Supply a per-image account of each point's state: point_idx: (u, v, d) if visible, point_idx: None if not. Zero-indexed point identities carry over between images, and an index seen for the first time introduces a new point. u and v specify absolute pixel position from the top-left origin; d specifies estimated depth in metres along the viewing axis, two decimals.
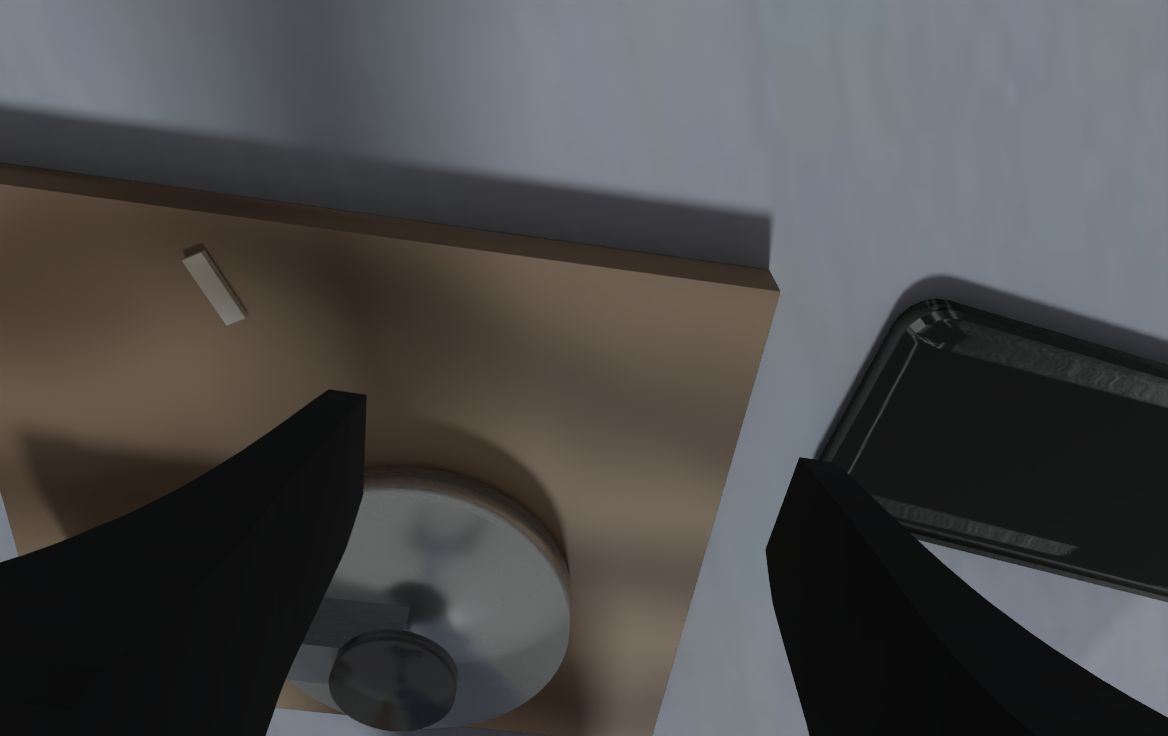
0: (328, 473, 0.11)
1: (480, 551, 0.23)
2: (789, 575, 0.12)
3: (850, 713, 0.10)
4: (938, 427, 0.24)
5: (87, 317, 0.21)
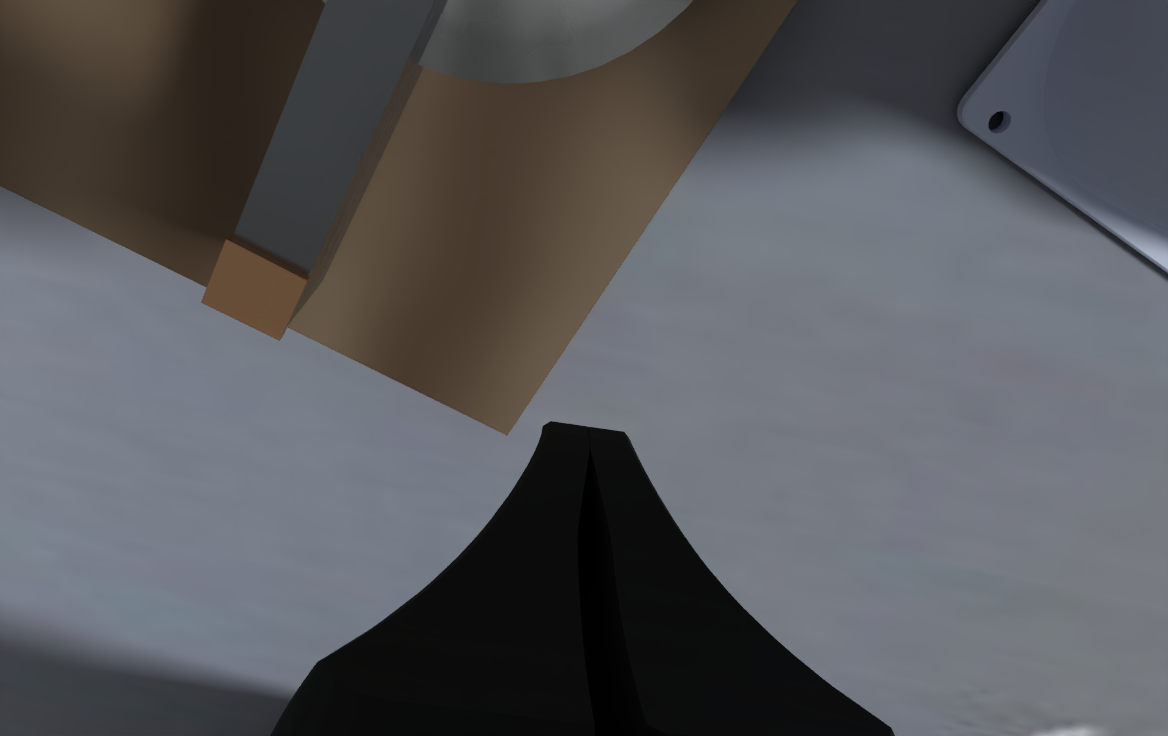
0: None
1: None
2: None
3: None
4: None
5: None
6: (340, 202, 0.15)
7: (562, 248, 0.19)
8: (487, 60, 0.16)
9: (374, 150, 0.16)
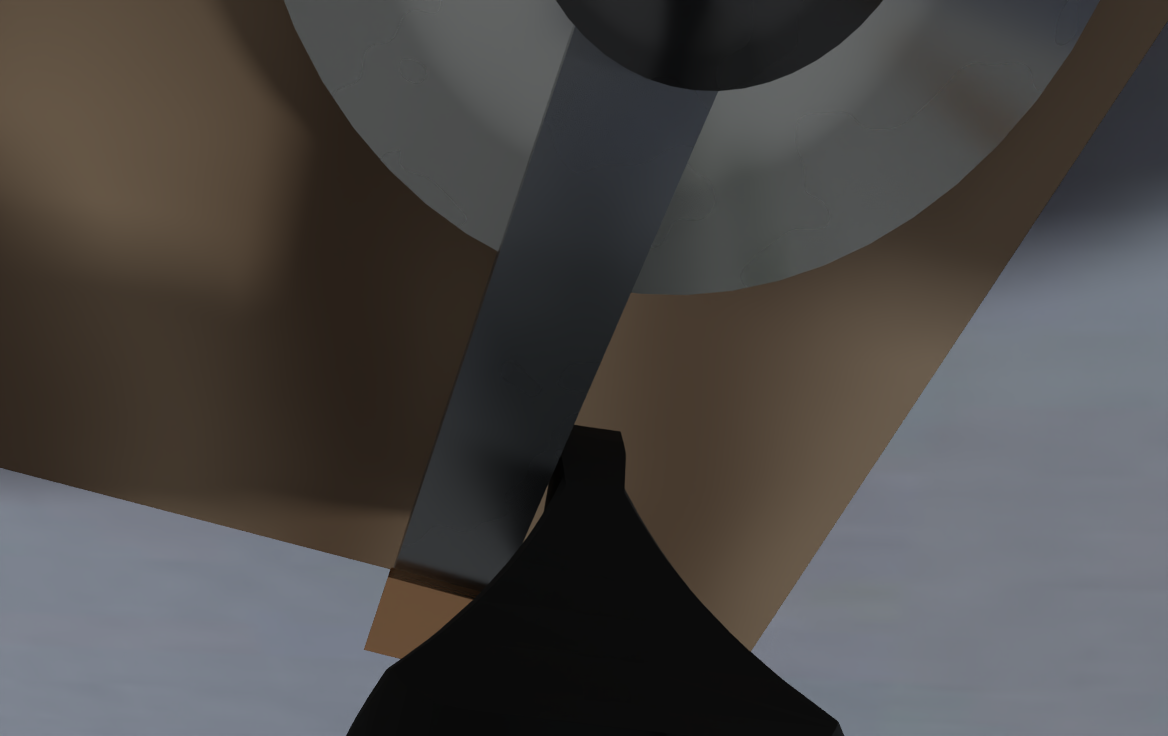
0: None
1: None
2: None
3: None
4: None
5: (2, 303, 0.13)
6: (536, 507, 0.11)
7: (801, 445, 0.14)
8: (703, 266, 0.11)
9: None
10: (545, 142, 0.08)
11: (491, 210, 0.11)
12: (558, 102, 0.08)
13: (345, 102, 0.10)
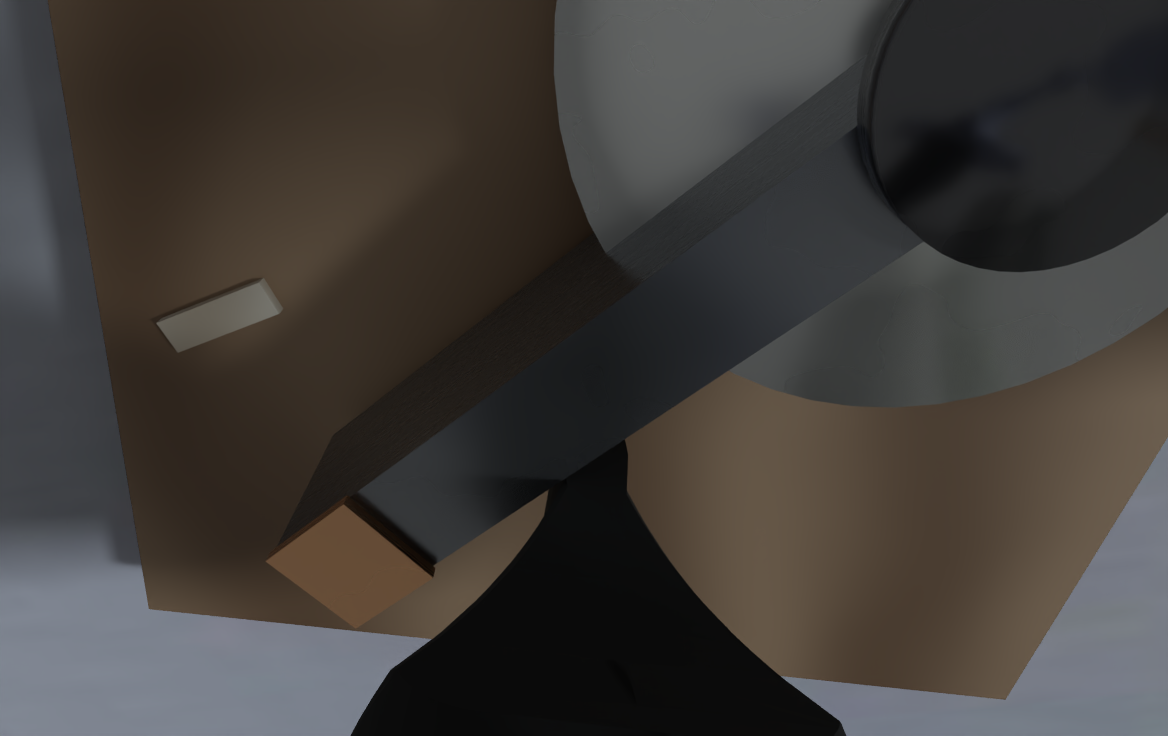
0: None
1: None
2: None
3: None
4: None
5: None
6: (526, 503, 0.11)
7: (1052, 498, 0.15)
8: (762, 357, 0.12)
9: None
10: (761, 204, 0.09)
11: (624, 215, 0.11)
12: (797, 180, 0.08)
13: (563, 46, 0.09)
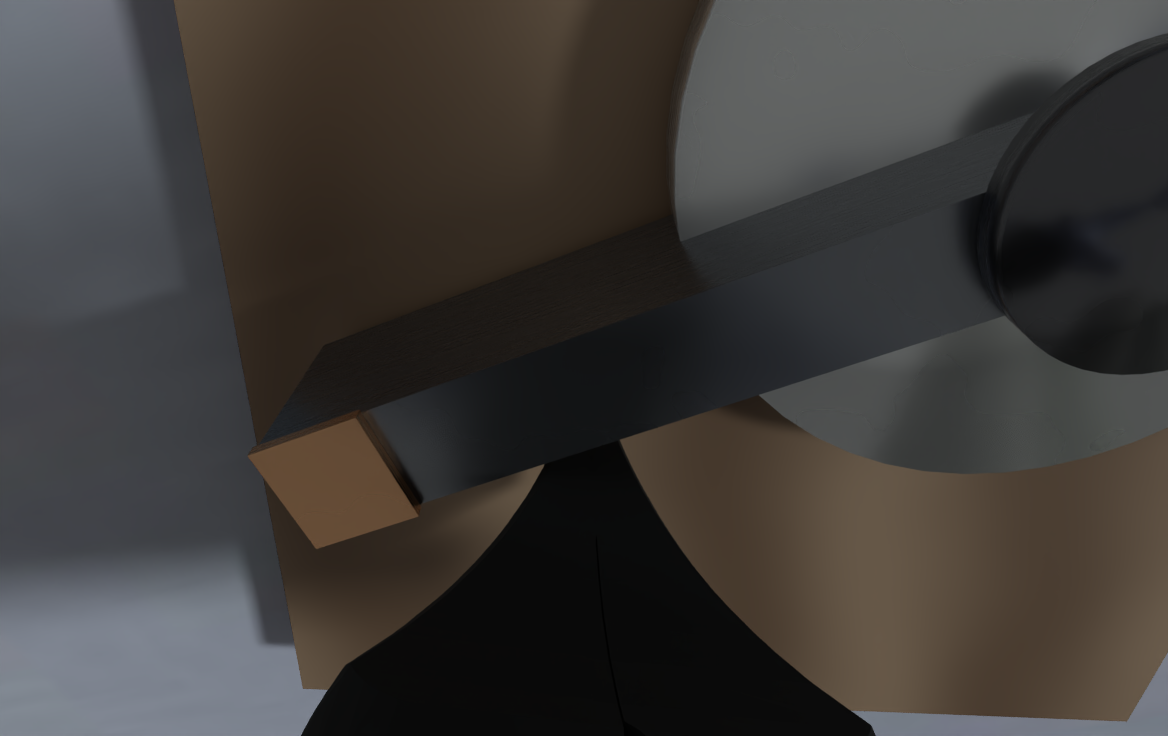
0: None
1: None
2: None
3: None
4: None
5: (450, 574, 0.16)
6: (538, 465, 0.10)
7: (1163, 531, 0.15)
8: (787, 385, 0.12)
9: None
10: (873, 239, 0.09)
11: (712, 210, 0.10)
12: (914, 226, 0.09)
13: (715, 28, 0.09)
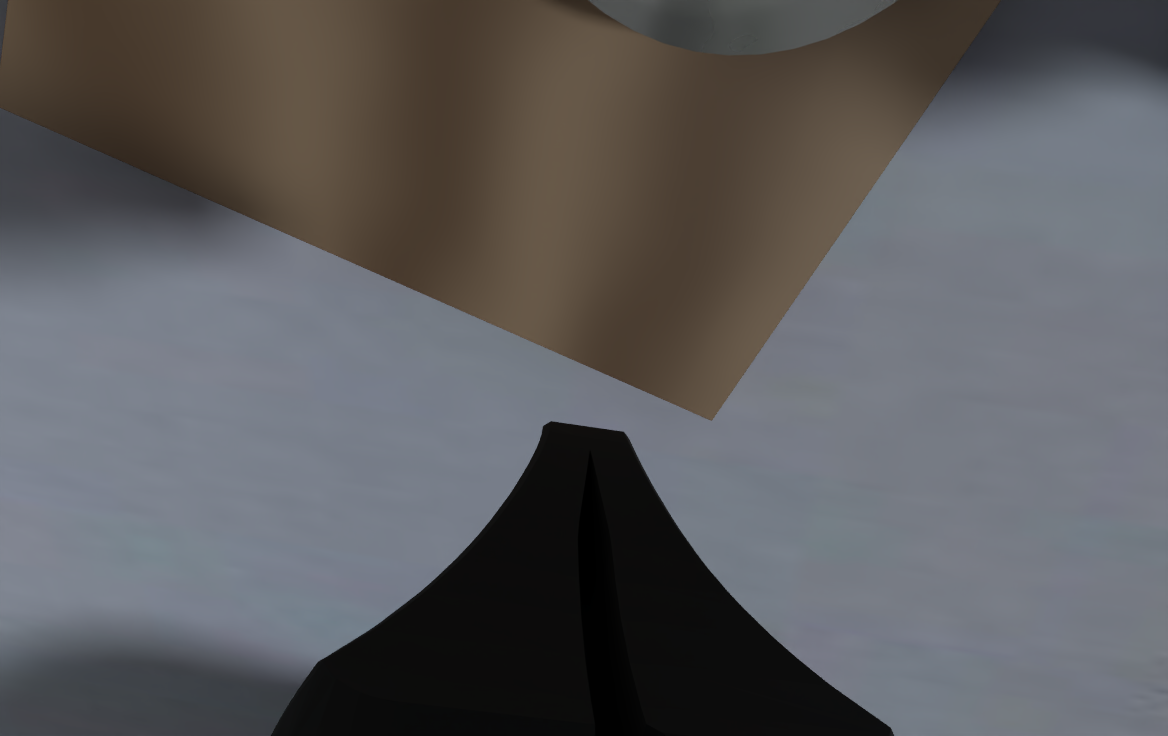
0: None
1: None
2: None
3: None
4: None
5: (183, 22, 0.17)
6: None
7: (779, 224, 0.19)
8: None
9: None
10: None
11: None
12: None
13: None
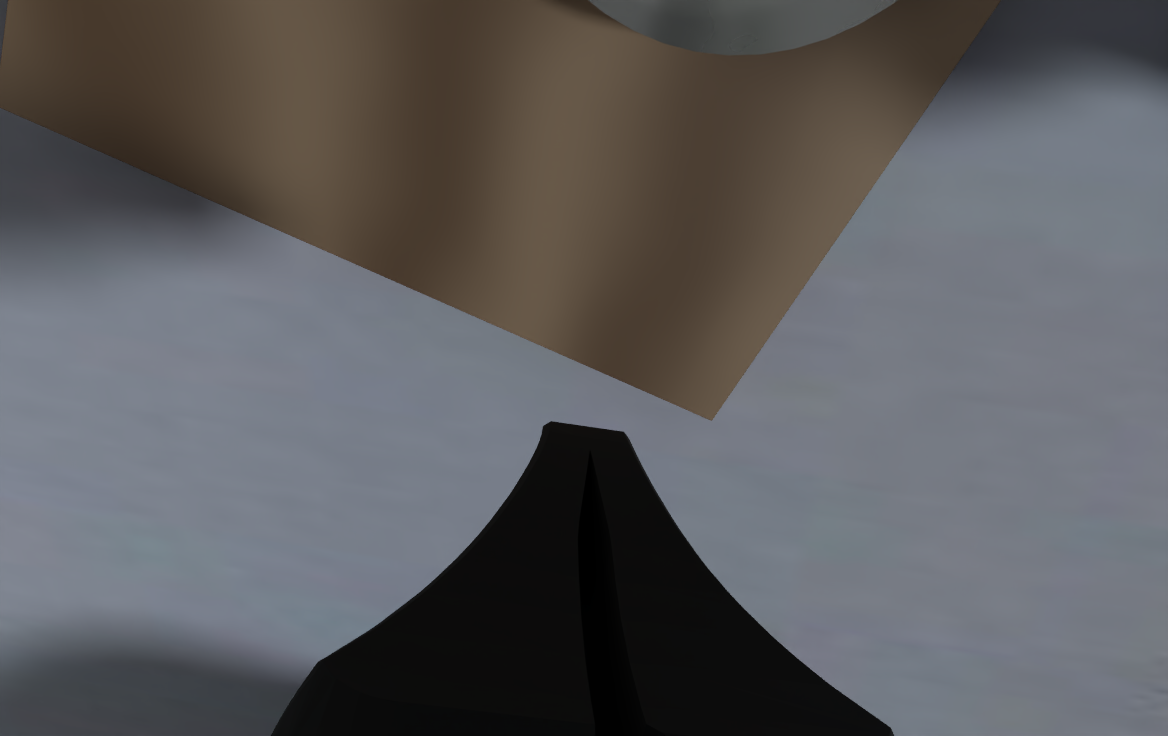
0: None
1: None
2: None
3: None
4: None
5: (183, 22, 0.17)
6: None
7: (779, 224, 0.19)
8: None
9: None
10: None
11: None
12: None
13: None
